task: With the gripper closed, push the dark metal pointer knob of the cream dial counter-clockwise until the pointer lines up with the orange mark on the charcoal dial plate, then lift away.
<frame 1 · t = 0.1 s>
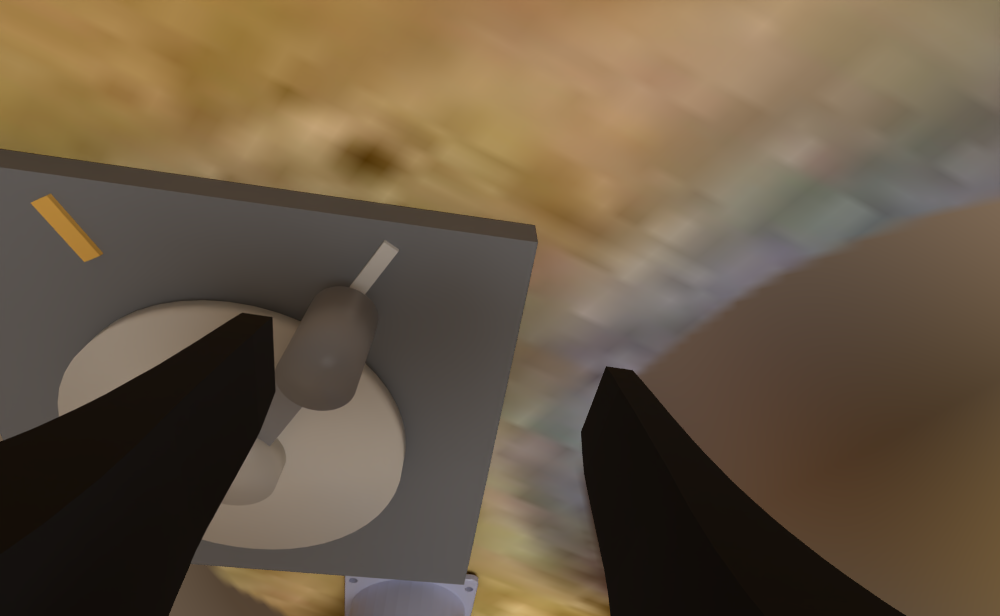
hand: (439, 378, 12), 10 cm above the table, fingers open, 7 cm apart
dial plate: (262, 406, 25), on the table
dial: (241, 455, 21), point 4 cm above the table, hinge at 0.0°
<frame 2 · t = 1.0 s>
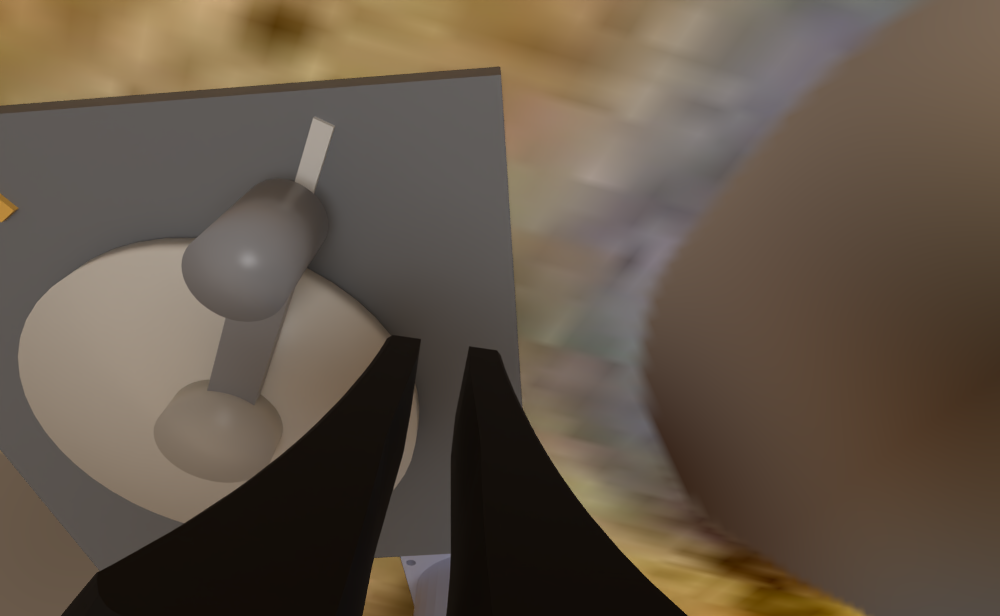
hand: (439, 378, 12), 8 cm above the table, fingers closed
dial plate: (256, 372, 22), on the table
dial: (220, 418, 18), point 4 cm above the table, hinge at 0.0°
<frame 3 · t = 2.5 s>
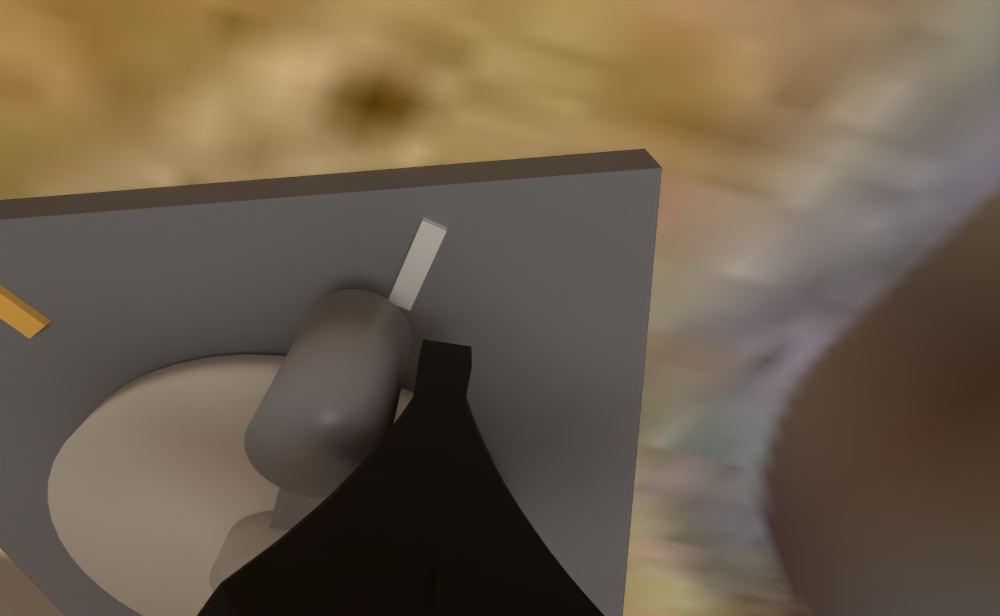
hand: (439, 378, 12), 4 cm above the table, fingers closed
dial plate: (317, 479, 19), on the table
dial: (287, 563, 15), point 4 cm above the table, hinge at 4.2°, touching gripper
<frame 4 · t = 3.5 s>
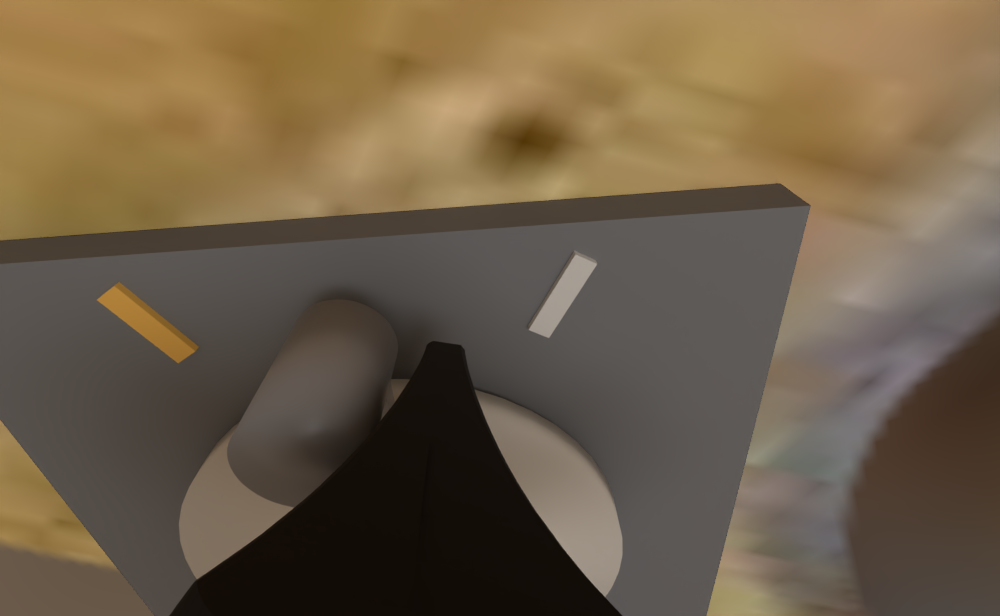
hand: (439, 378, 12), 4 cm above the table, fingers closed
dial plate: (416, 493, 20), on the table
dial: (391, 577, 15), point 4 cm above the table, hinge at 29.4°, touching gripper
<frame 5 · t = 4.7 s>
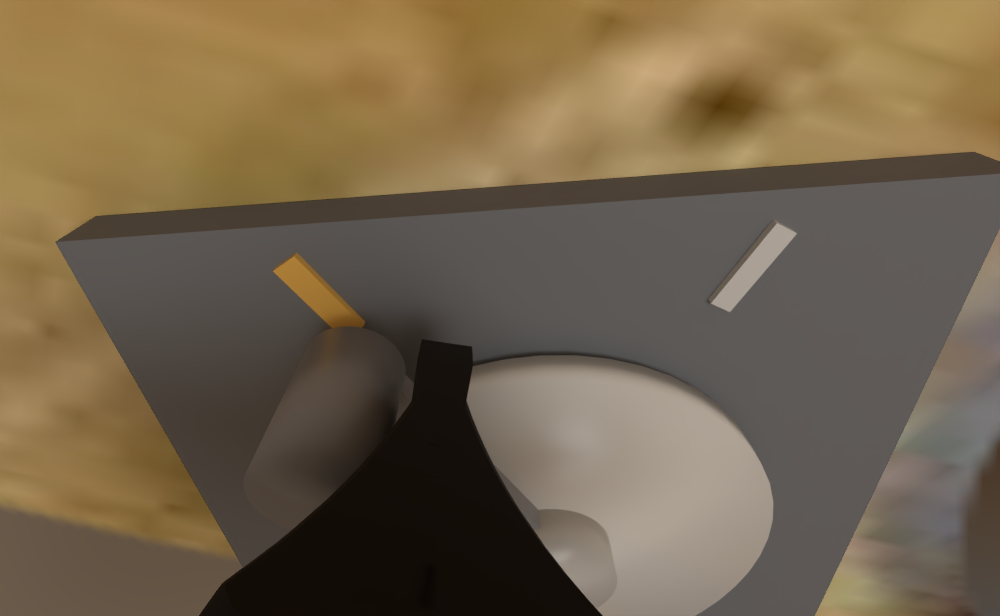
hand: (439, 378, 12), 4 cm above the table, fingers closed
dial plate: (539, 477, 19), on the table
dial: (522, 565, 15), point 4 cm above the table, hinge at 59.2°, touching gripper
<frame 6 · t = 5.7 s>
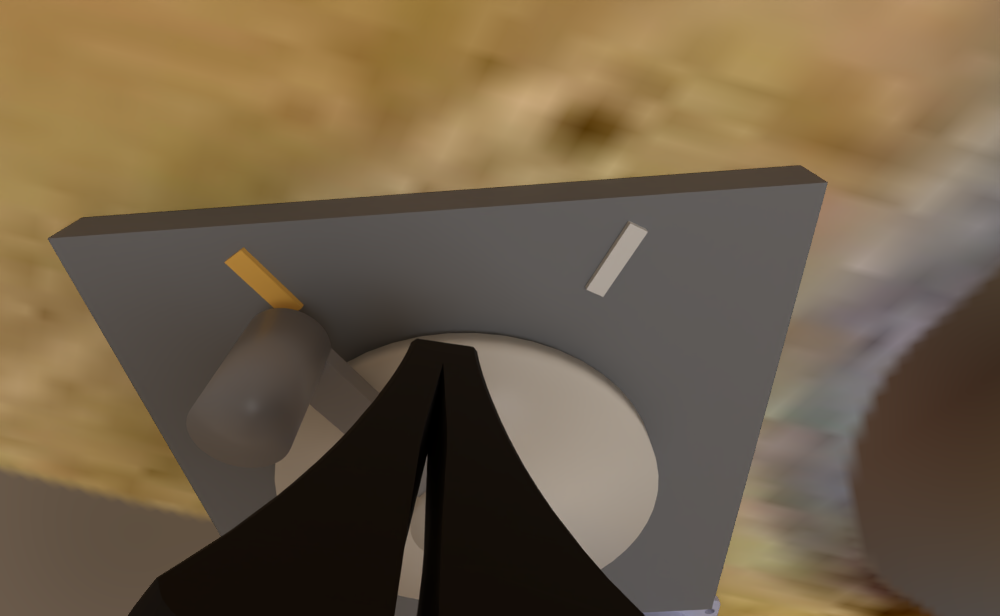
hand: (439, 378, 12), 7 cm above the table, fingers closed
dial plate: (470, 445, 22), on the table
dial: (439, 511, 18), point 4 cm above the table, hinge at 59.8°
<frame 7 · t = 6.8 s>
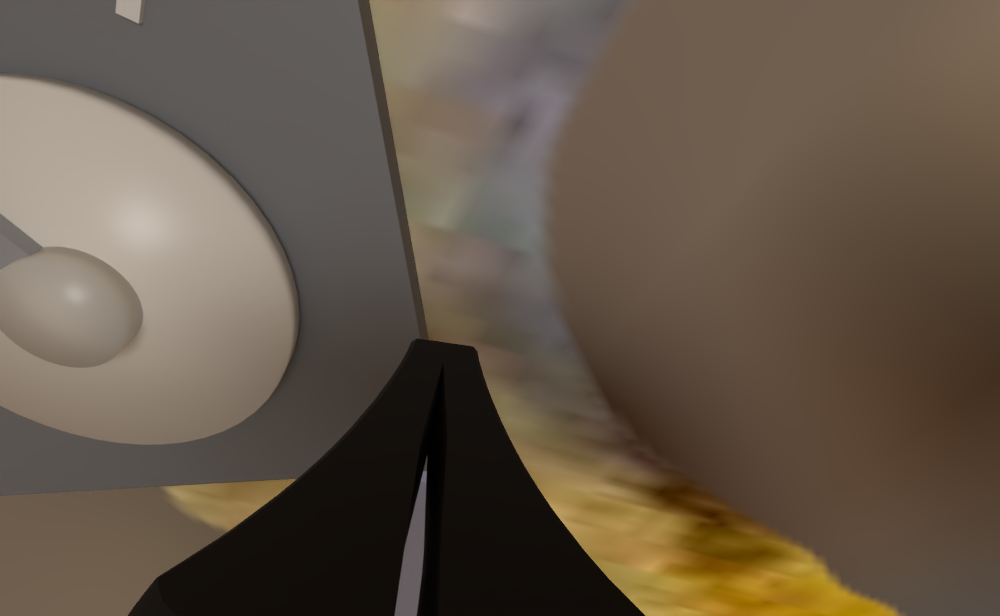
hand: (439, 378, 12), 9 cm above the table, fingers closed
dial plate: (127, 261, 20), on the table
dial: (3, 285, 16), point 4 cm above the table, hinge at 59.8°
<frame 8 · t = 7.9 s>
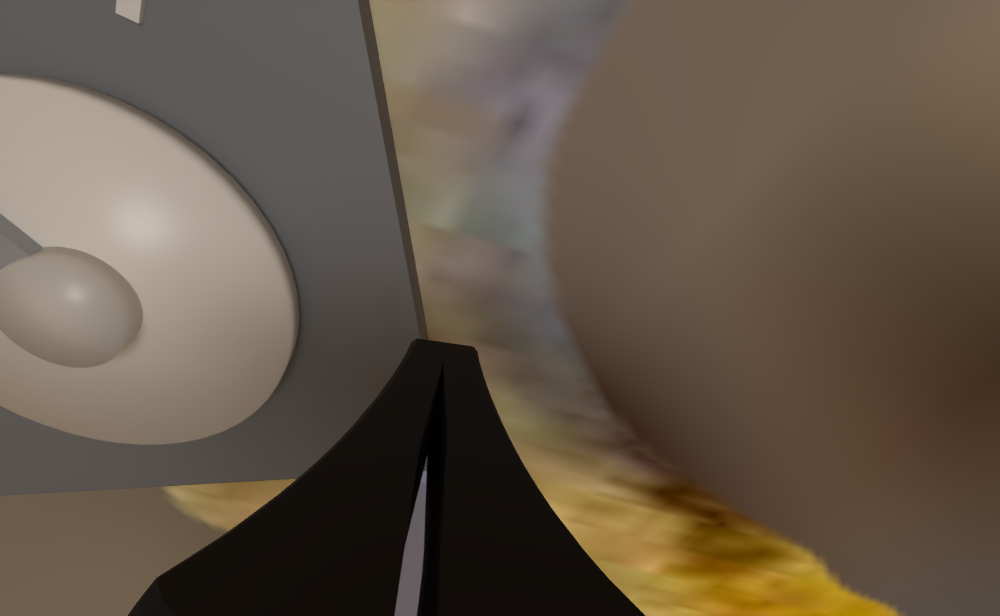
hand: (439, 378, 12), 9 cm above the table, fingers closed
dial plate: (127, 261, 20), on the table
dial: (3, 285, 16), point 4 cm above the table, hinge at 59.8°
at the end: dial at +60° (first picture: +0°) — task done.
